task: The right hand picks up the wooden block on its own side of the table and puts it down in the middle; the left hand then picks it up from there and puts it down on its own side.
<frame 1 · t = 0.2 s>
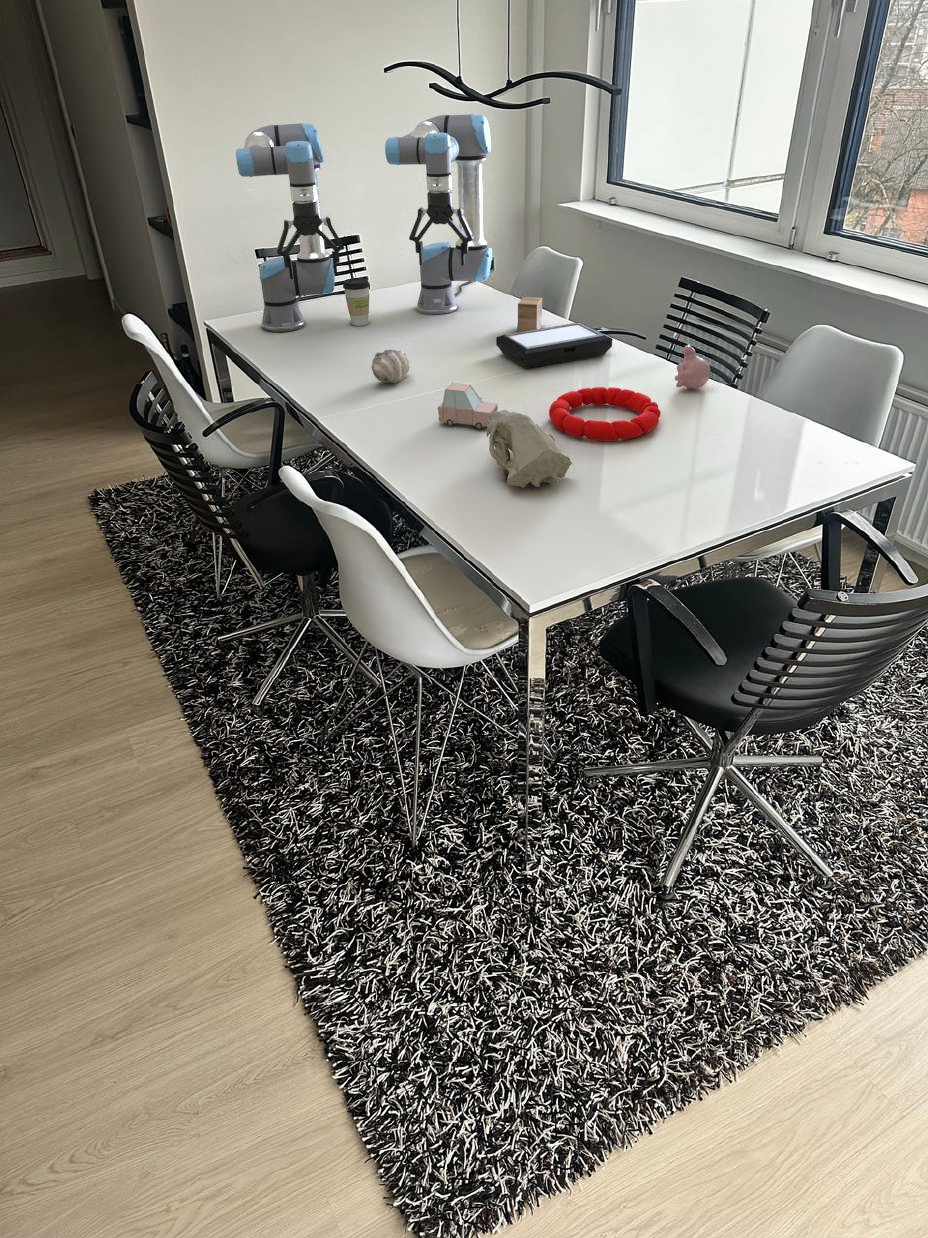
left hand: (313, 276, 273), 28 cm above the table, tool pointing down, fingers open, 13 cm apart
right hand: (442, 264, 283), 28 cm above the table, tool pointing down, fingers open, 13 cm apart
coffee cup: (360, 323, 327), on the table
decorative ring: (603, 422, 244), on the table
electronic device: (553, 354, 292), on the table
grey rough lumpy piece: (520, 470, 220), on the table
block: (529, 329, 315), on the table
figurine: (690, 388, 263), on the table
seashell: (392, 382, 274), on the table
toy car: (468, 423, 246), on the table
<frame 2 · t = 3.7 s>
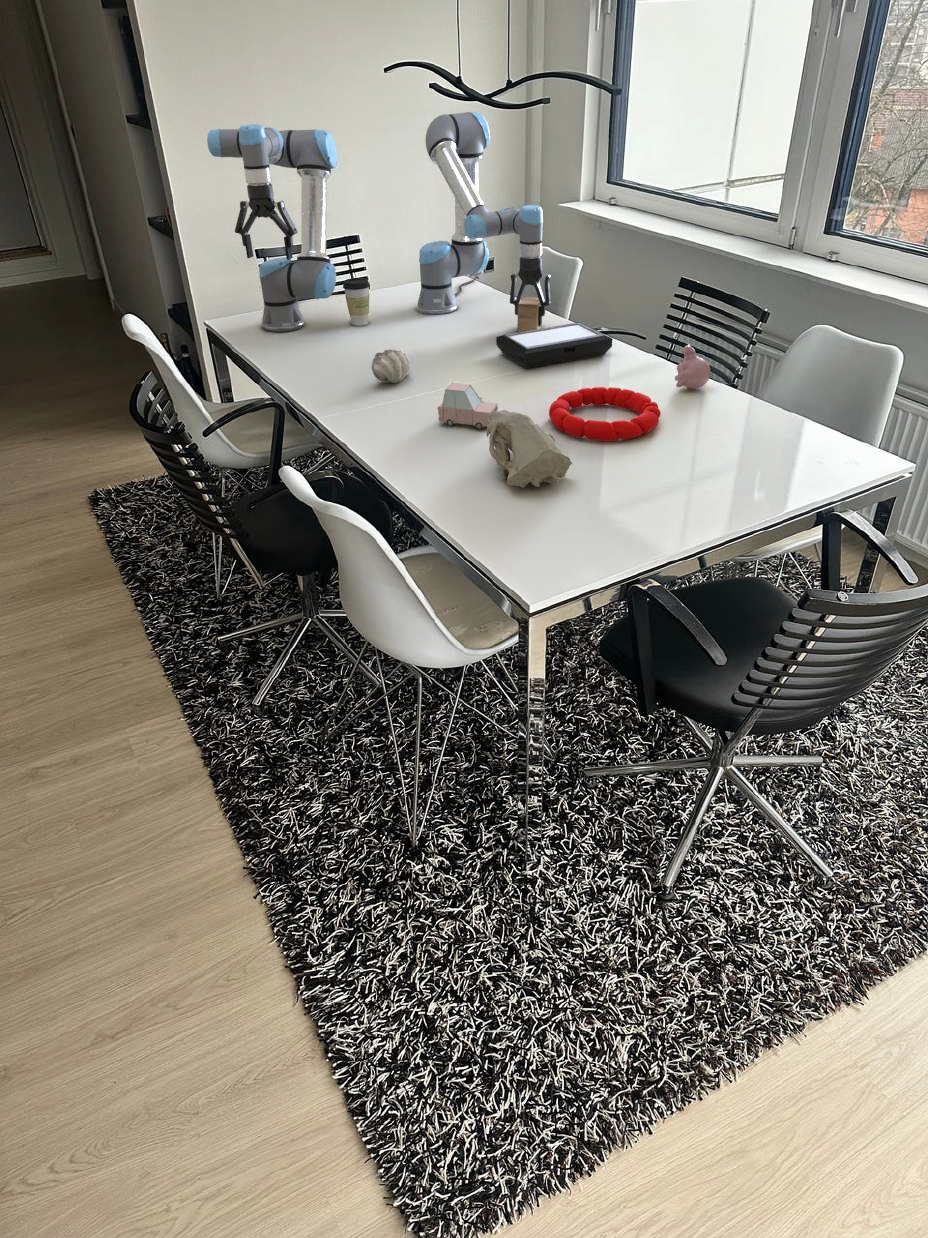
left hand: (269, 257, 279), 32 cm above the table, tool pointing down, fingers open, 13 cm apart
right hand: (529, 324, 314), 2 cm above the table, tool pointing down, fingers closed on block, 7 cm apart
block: (529, 329, 315), on the table, touching right hand
everything else where it was.
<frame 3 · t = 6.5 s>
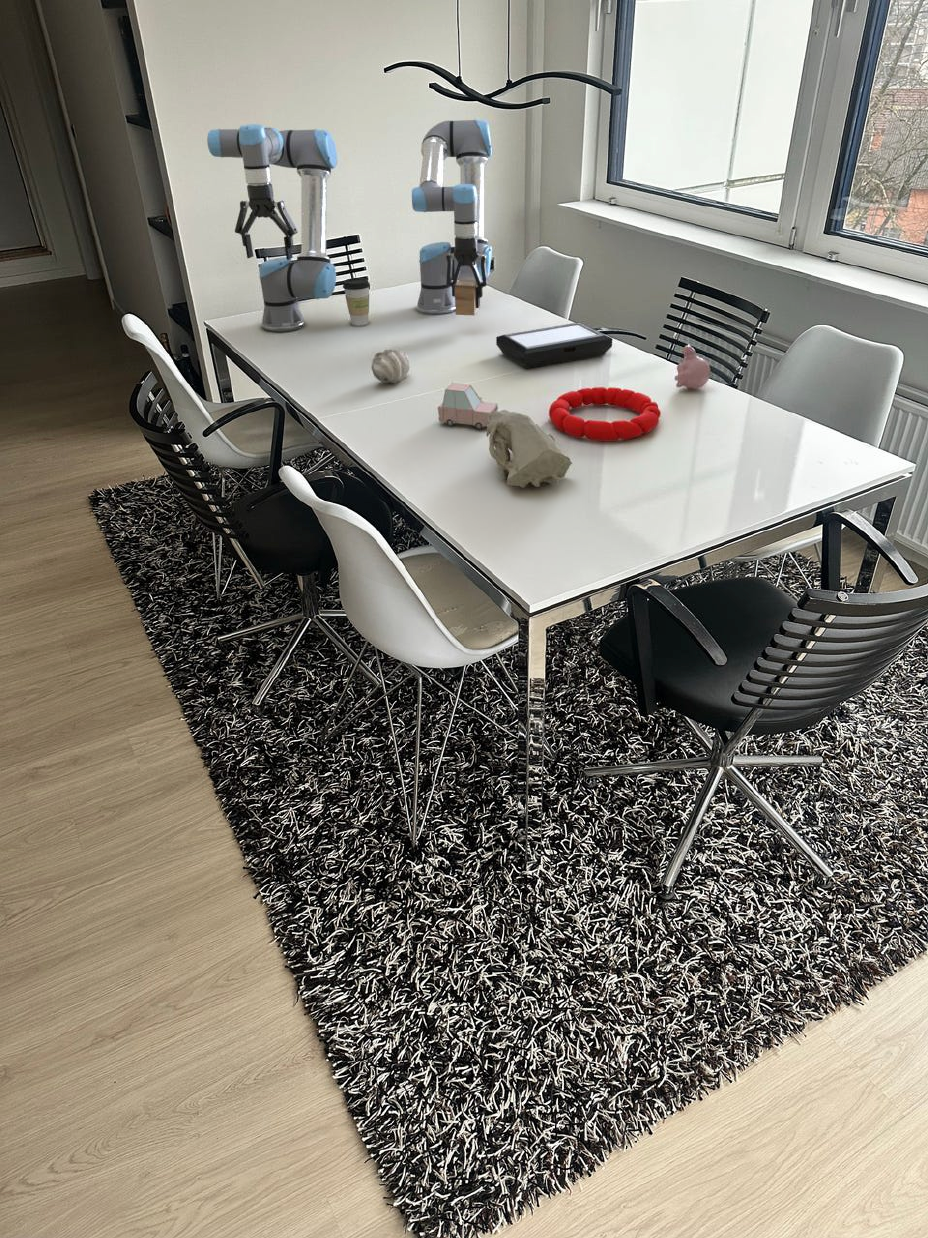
left hand: (269, 257, 279), 32 cm above the table, tool pointing down, fingers open, 13 cm apart
right hand: (467, 306, 309), 9 cm above the table, tool pointing down, fingers closed on block, 7 cm apart
block: (467, 311, 310), point 7 cm above the table, touching right hand
everything else where it was.
when the right hand's fingers open (3 cm above the table, at t = 9.3 s): block drops 1 cm, on the table.
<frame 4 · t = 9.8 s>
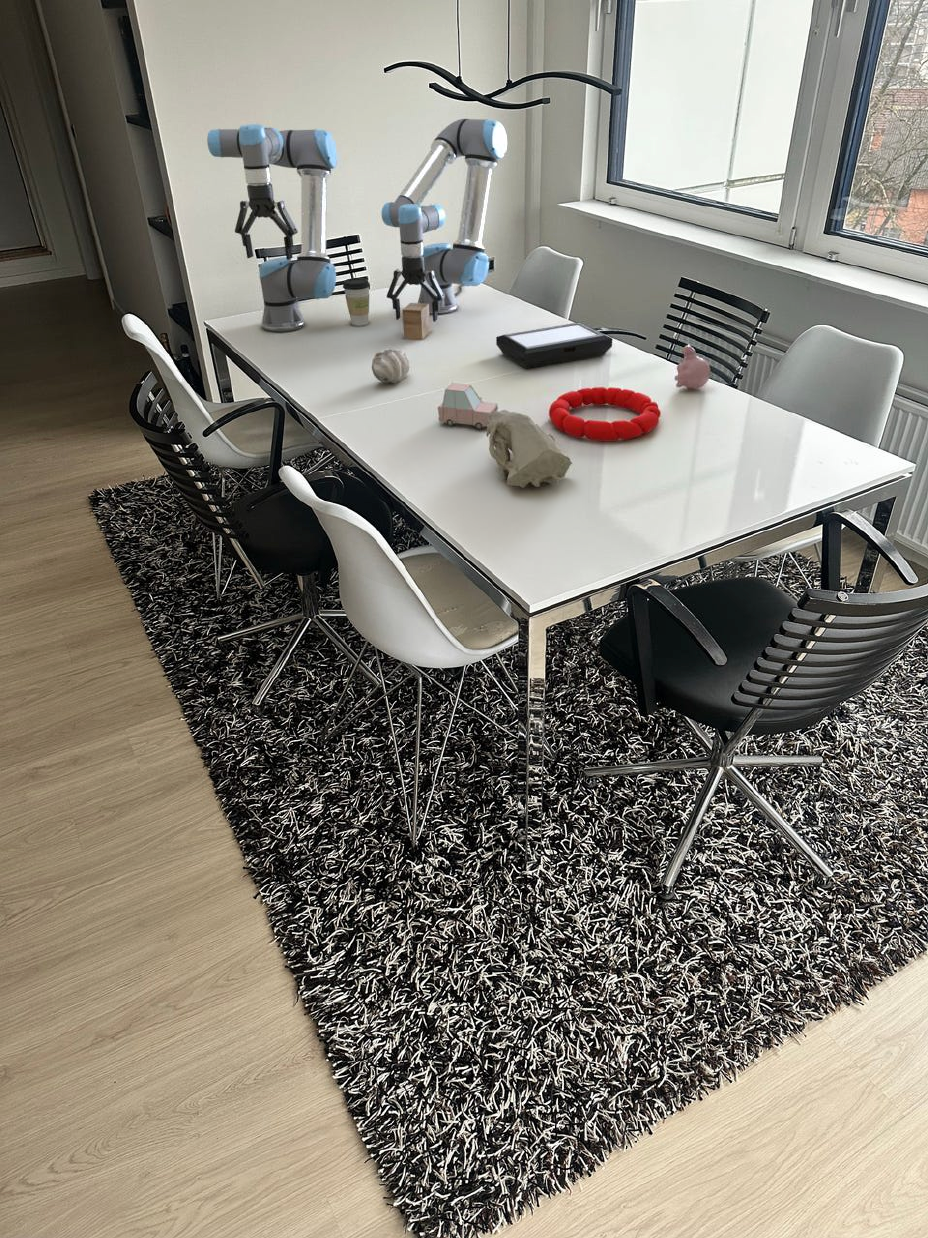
left hand: (269, 257, 279), 32 cm above the table, tool pointing down, fingers open, 13 cm apart
right hand: (416, 319, 311), 5 cm above the table, tool pointing down, fingers open, 13 cm apart
block: (417, 335, 313), on the table
everything else where it was.
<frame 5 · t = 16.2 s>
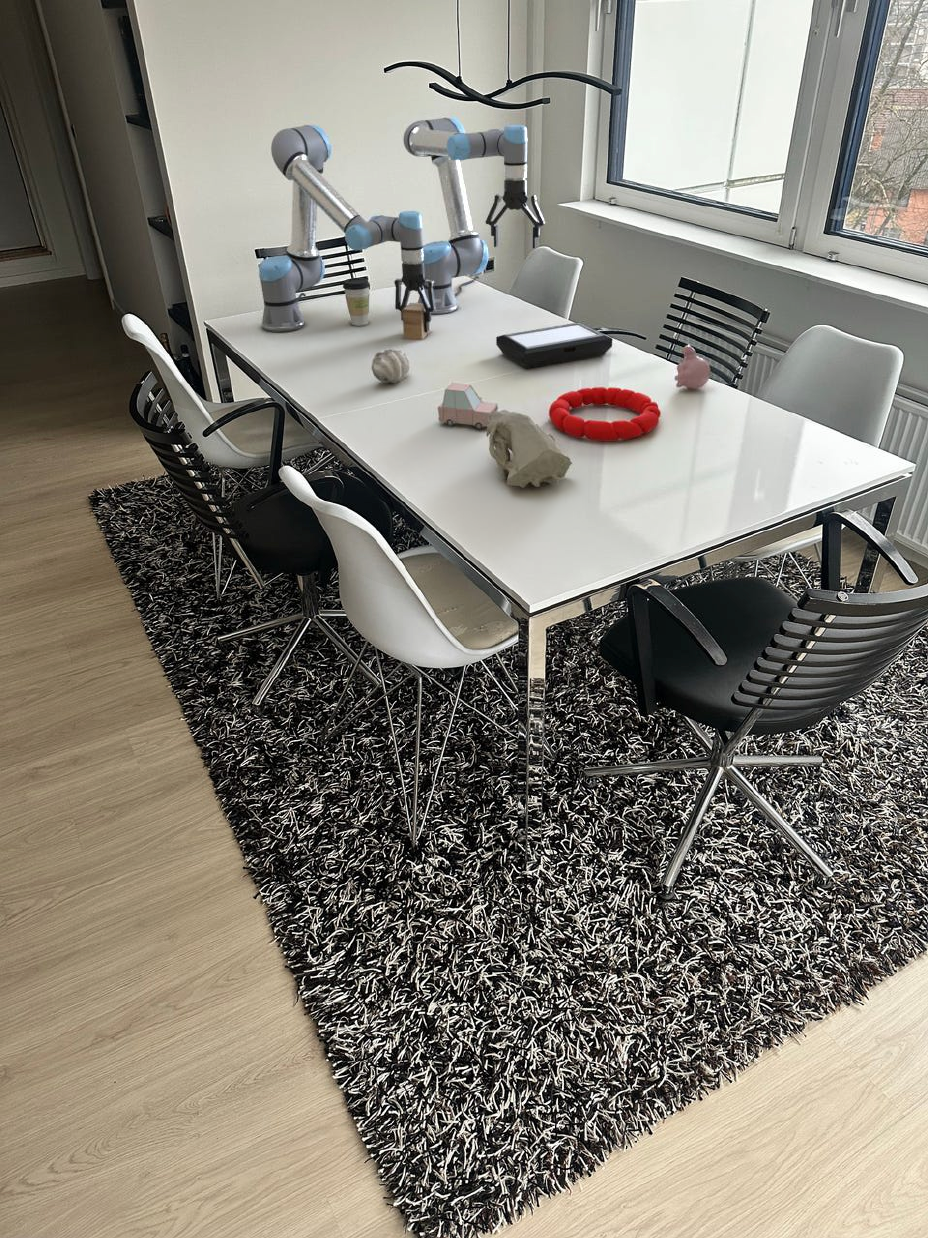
left hand: (416, 330, 312), 2 cm above the table, tool pointing down, fingers closed on block, 7 cm apart
right hand: (515, 246, 306), 26 cm above the table, tool pointing down, fingers open, 13 cm apart
block: (417, 335, 313), on the table, touching left hand
everything else where it was.
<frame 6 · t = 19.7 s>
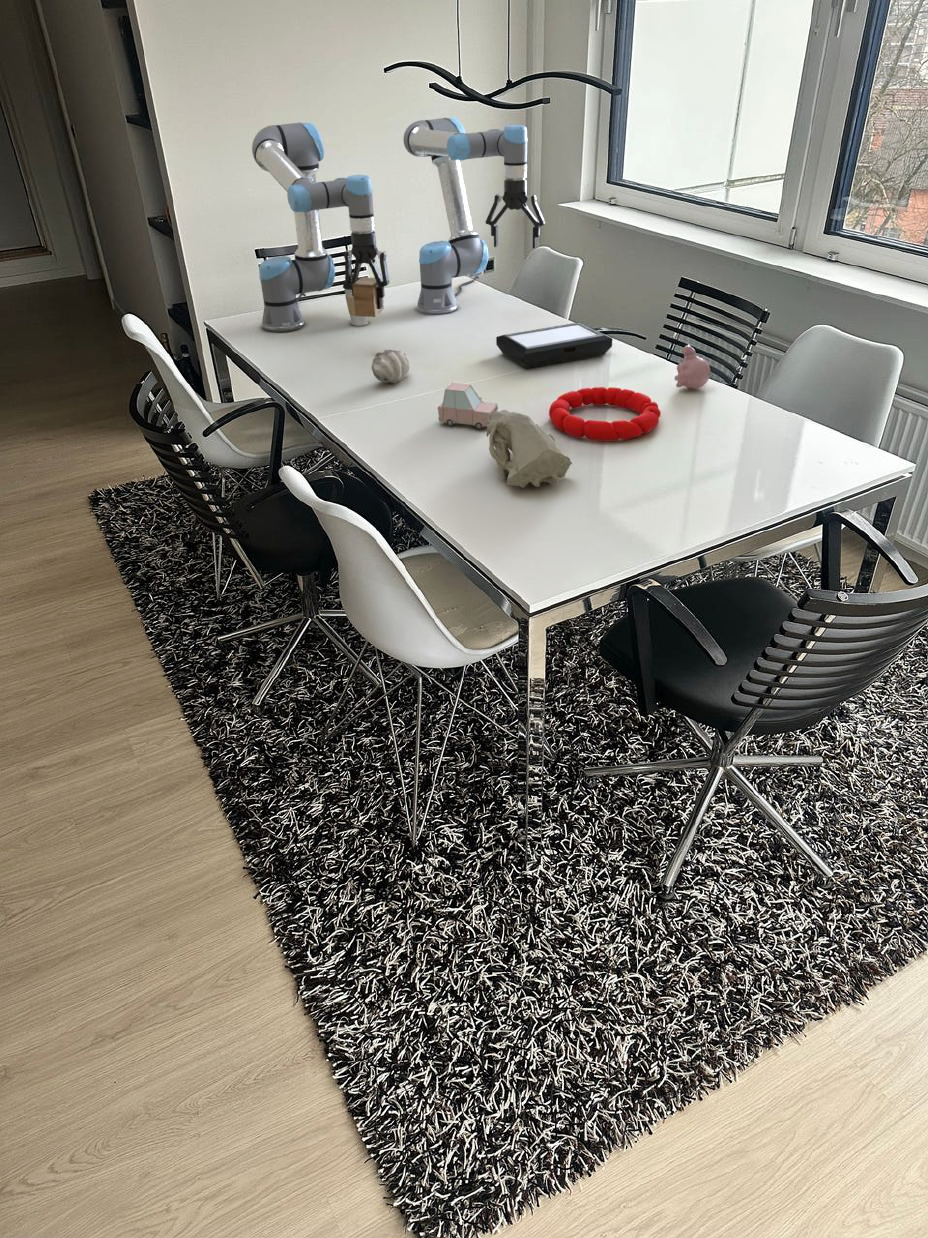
left hand: (369, 307, 288), 16 cm above the table, tool pointing down, fingers closed on block, 7 cm apart
right hand: (515, 246, 306), 26 cm above the table, tool pointing down, fingers open, 13 cm apart
block: (369, 312, 289), point 14 cm above the table, touching left hand
everything else where it was.
when the left hand's fingers open (3 cm above the table, at t = 23.5 s): block drops 1 cm, on the table.
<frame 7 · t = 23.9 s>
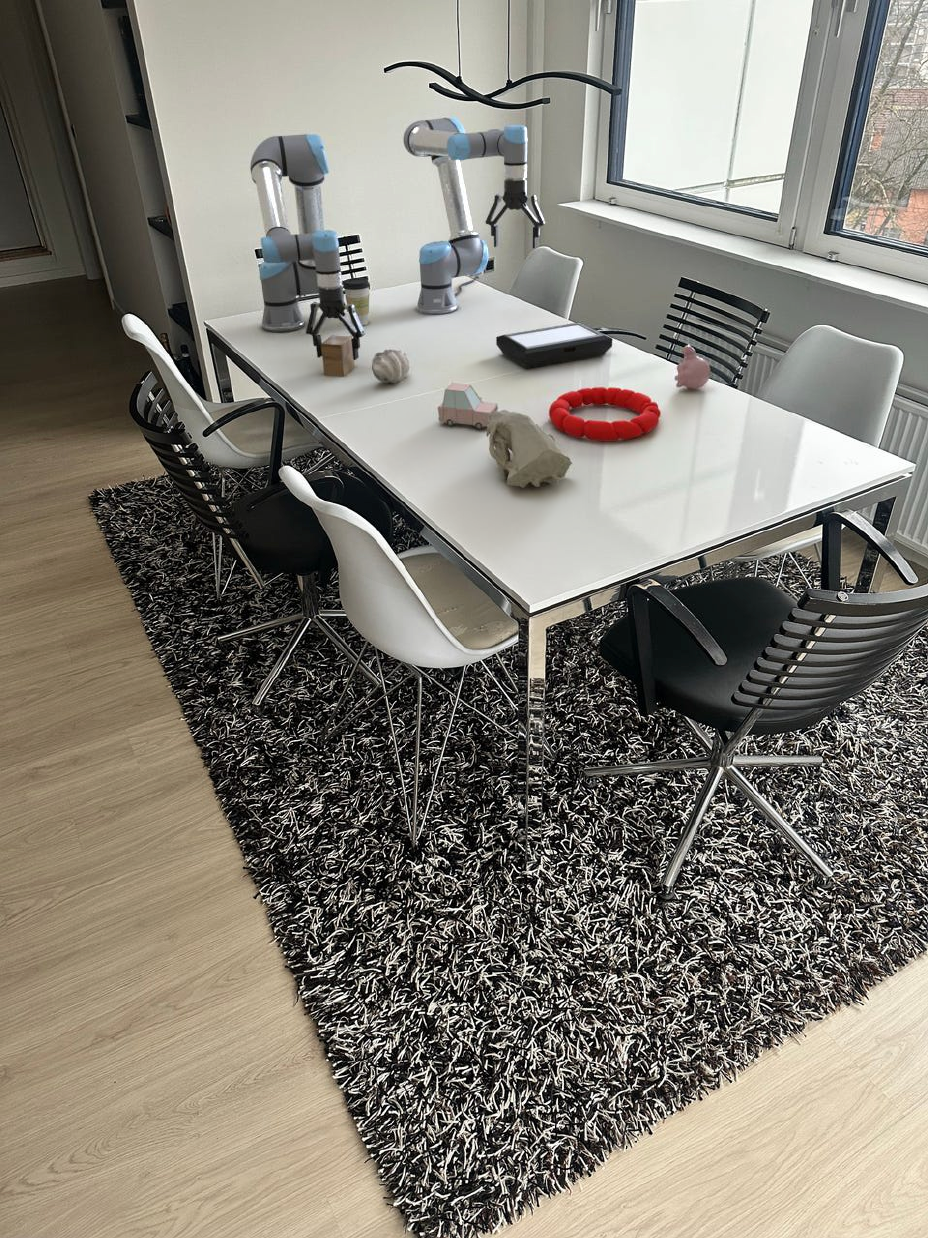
left hand: (338, 357, 282), 4 cm above the table, tool pointing down, fingers open, 11 cm apart
right hand: (515, 246, 306), 26 cm above the table, tool pointing down, fingers open, 13 cm apart
block: (339, 370, 285), on the table
everything else where it was.
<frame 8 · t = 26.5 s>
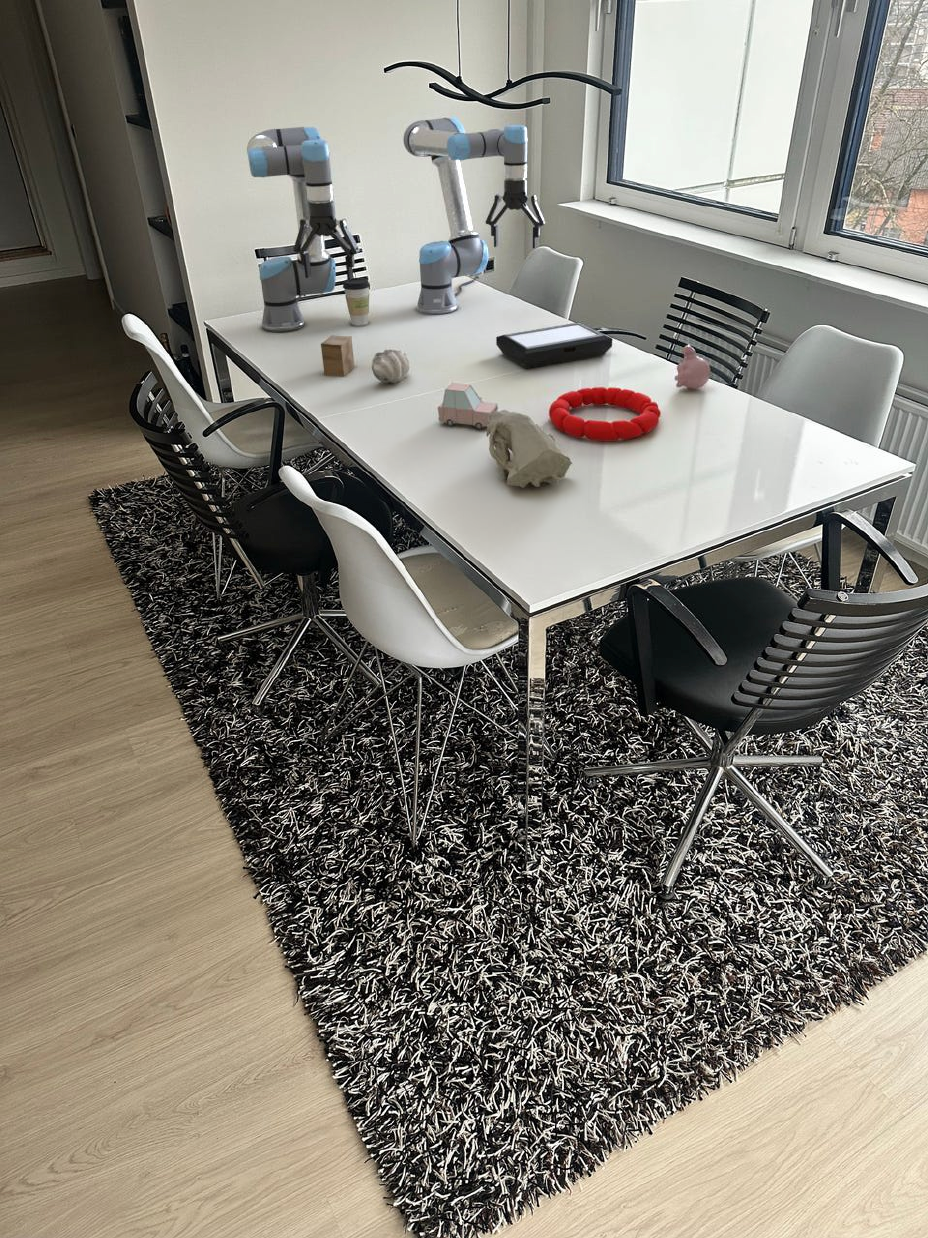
left hand: (329, 277, 268), 29 cm above the table, tool pointing down, fingers open, 13 cm apart
right hand: (515, 246, 306), 26 cm above the table, tool pointing down, fingers open, 13 cm apart
nothing on the table moved.
at the end: block inside the target area (0.1 cm from its centre), on the table; block tilted 0°; the two hands never held the block at the same time; the left hand is holding nothing; the right hand is holding nothing; block at rest at the end (0.0 cm/s) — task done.
